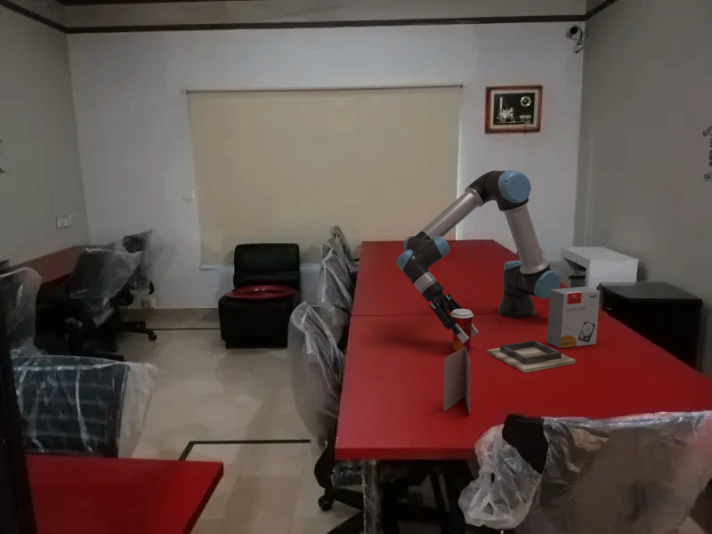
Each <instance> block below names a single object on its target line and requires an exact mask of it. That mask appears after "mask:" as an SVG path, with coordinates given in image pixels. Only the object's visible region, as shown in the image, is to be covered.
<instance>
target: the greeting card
mask: <svg viewBox="0 0 712 534" xmlns="http://www.w3.org/2000/svg"><path fill="white" fill-rule="evenodd" d="M443 360H444V361H443V412H446V411H447V410H448V409H450V408H452V407H454V406H455V405H456V404H457V403H458V401H459V402H460V401H461V399H462V400H463V399H464V400H465V403H466V408H467V411H468V415H469V416H470V415H471V414H470V413H471V359H470V356H469V353H468V352H467V350H466V347H464V348H462V349H460V350H458V351H455V352H453V353H451V354H449V355H448V356H446V357H444V358H443ZM451 406H452V407H451Z"/></svg>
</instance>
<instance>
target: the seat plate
mask: <svg viewBox="0 0 712 534" xmlns="http://www.w3.org/2000/svg"><path fill="white" fill-rule="evenodd" d="M487 354H488V355H490V356H492V355H493V356H495V357H496V358H495V357H494V358H495V359H497V358H498V360H499V359H500V361H501V360H502V361H501V362H503V361H504V362H503V363H505V362H506V363H508V364H509V365H508V364H507V365H508V366H510V365H511V366H510V367H512V366H513V367H512V368H514V367H515V368H514V369H516V368H517V369H516V370H518V371H520V372H521V371H522V373H523V372H524V374H526V372H527V373H531V372H532V371H533V372H537V371H542V370H547V369H553V368H557V367H558V368H559V367H563V366H568V365H575V364H576V359H574V358H572V357H569V356H567V355H565V354H563V353H562V352H561V351H559V350H557V349H554V348H553V347H551V346H547V345H545V344H543V343H541V342H538V341H536V340H534V339H532V340H528V341H521V342H516V343H515V342H514V343H510V344H504V345H503V344H502V345H500V346H499V347H497V348H491V349H487ZM493 356H492V357H493ZM506 363H505V364H506Z"/></svg>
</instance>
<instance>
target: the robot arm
mask: <svg viewBox="0 0 712 534" xmlns="http://www.w3.org/2000/svg"><path fill="white" fill-rule="evenodd" d="M531 190H532V184H531V181H530V179H529V178H528V176H527V175H526V174H525V173H523V172H521V171H519V170H518V171H517V170H513V169H512V170H490V171H488V172H485V173H483V174H482V175H480V176H479V177H477V179H475V180H474V181H472V182H471V183H470V184H469V185H468V186H467V187H466V188H465V189H464V192H463V194H461V196H459V197H458V198H456V199H455V200H454V201H453V202H452V203H451V204H450V205H449V206H447V208H445V209H444V210H443V211H442V212H441V213H440V214H438V216H436V217H435V218H434V219H433V220H432V221H430V222H429V223H428V224H427V225H426V226H425V227H424V228H422V230H420V231H419V232H418V233H417V234H416V235H411V236H408V237H406V238H405V239H404V242H403V244H402V245H403V252H402V253H401V254H400V255H398V257H397V258H396V262H395V263H396V265H397V266H398V268H399V269H400V270H401V272H402V273H403V274H404V275H405V277H407V279H408V280H409V281H410V282H411V283H412V285H413V286H414V287H415V289H416V290H417V291H418V292H419V293H421V296H422V297H423V298H424V299H425V301H426V302H431V304H430V305H429V308H430V309H431V310H432V311H433V312H434V314H435V316H437V318H438V319H439V321H440V322H441V324H442V325H443V326H444V328H445V329H447V330H448V331H449V330H452V333H453V332H454V333H455V334H456V335H457V336H458V338H459V339H460V340H461V341H462V343H464V342H465V341H466V340H468V339H469V337H468V336H467V335H466V334H465V332H464V331H463V330H462V329H461V328H460V326H459V325H458V324H455V322H454V321H453V319H452V316H451V314H452V312H453V310H455V309H464V308H463V307H462V306H461V305H460V304H459V303H458V302H457V301H456V300H455V299H454V298H453V295H451V294H450V293H448V294H447V295H446V294H445V293H443V291H444V287H443V286H442V285H441V284H440V282H439V281H437V278H436V277H435V275H433V274H432V273H431V272H430V270H429V268H430V267H431V266H433V265H434V264H435V263H437V262H438V261H440V260H441V259H443V258H444V257H446V256H447V255H448V254H449V253H450V250H451V249H450V245H449V243H448V241H447V240H446V239H445V238H444V237H445V236H446V235H447V234H448V233H449V232H450V231H451V230H452V229H454V228H455V227H456V226H458V224H460V223H461V222H462V221H463V220H464V219H465V218H466V217H467V216H469V215H470V214H471V213H472V212H473V211H475V210H476V208H477V207H478V208H482V207H483V206H484V205H485V204H487V203H488V202H491V201H495V202H496V205H497V208H498V210H499V211H500V212H502V213H504V215H505V218H506V222H507V223H508V227H509V230H510V233H511V236H512V239H513V242H514V245H515V248H516V251H517V255H518V256H519V259H518V260H509V261H506V262H505V263H504V264H503V270H502V272H503V277H502V278H503V281H502V282H503V284H502V287H503V288H502V290H503V291H502V292H503V293H502V297H501V300H500V303H499V306H498V314H499V313H500V314H499V315H501V314H502V315H501V316H503V315H505V316H504V317H507V316H508V317H507V318H514V319H515V318H518V319H520V318H522V319H524V318H525V319H527V318H531V317H534V316H535V315H536V309H535V305H534V302H533V298H532V296H533V297H535V298H539V299H540V298H541V299H550V290H551V289H560V285H561V276H560V275H559V273H558V272H556V271H555V270H552V268H551V265H550V262H549V260H547V259H546V258H544V255H543V253H542V249H541V247H540V243H539V240H538V236H537V233H536V231H535V227H534V225H533V222H532V217H531V216H530V212H529V209H528V207H527V205H528V203H529V201H530V199H529V197H530V195H531ZM478 333H479V331H478V329H477V328H476V327H475V325H474V324H472V330H471V338H473V337H474V336H476V334H478Z"/></svg>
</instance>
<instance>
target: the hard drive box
mask: <svg viewBox="0 0 712 534" xmlns="http://www.w3.org/2000/svg"><path fill="white" fill-rule="evenodd" d="M600 296H601V291H600V290H598V289H596V288H592V287H589V286H577V287H575V286H574V287H565V288H558V289H551V290H550V298H549V305H548V321H547V322H548V326H547V338H546V339H547V340H546V341H547V343H548V344H550V345H552V346H554V347H556V348H558V349H564V348H566V349H568V348H572V347H573V348H574V347H582V346H591V345H597V337H598V336H597V333H598V324H599V323H598V321H599V320H598V319H599V310H600V308H599V307H600V298H601V297H600Z"/></svg>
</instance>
